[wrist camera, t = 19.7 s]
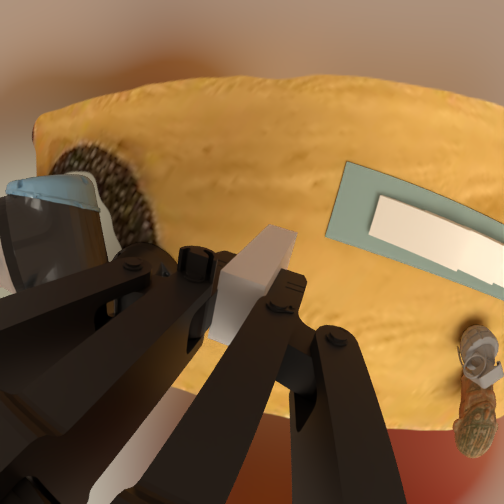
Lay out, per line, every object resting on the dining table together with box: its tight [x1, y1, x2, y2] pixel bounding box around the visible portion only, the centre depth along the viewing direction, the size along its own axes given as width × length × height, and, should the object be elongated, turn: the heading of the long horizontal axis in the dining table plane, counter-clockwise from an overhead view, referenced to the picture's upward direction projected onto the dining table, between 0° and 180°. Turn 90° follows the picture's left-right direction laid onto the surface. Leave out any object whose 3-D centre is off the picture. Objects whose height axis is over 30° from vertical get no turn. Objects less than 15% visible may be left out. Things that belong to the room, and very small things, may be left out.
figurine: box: [453, 368, 498, 458], centre depth 31 cm, size 8×8×15 cm
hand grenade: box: [457, 325, 504, 389], centre depth 31 cm, size 6×6×11 cm
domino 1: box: [368, 195, 471, 272], centre depth 32 cm, size 2×5×12 cm
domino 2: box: [425, 210, 504, 285], centre depth 31 cm, size 2×5×12 cm
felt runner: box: [325, 162, 504, 301], centre depth 33 cm, size 32×10×1 cm, turn 77°
